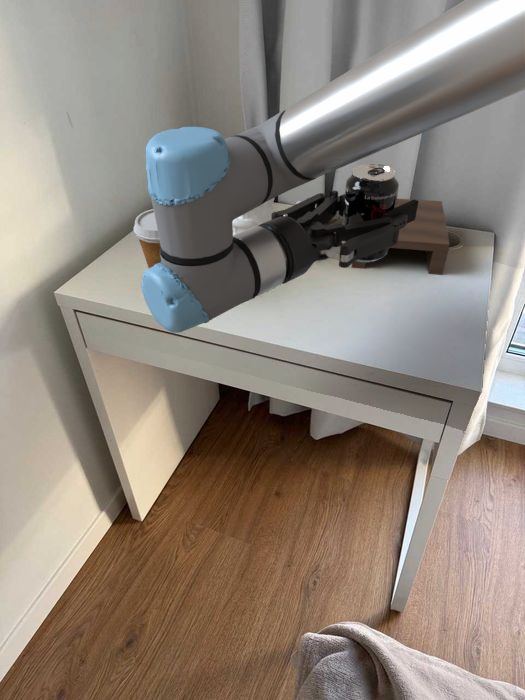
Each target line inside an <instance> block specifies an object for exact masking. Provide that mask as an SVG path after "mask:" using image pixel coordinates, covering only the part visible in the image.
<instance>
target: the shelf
mask: <svg viewBox="0 0 525 700" xmlns="http://www.w3.org/2000/svg"><path fill="white" fill-rule="evenodd" d="M411 200H413V198H412V199H409V198H397V202H396V207H398V206H400V205H403V204H405V203H407V202H409V201H411ZM416 200H417V201H419V202H418V207H417V213H416V218H415V220H414V221H412V222H409V223H407V224H406V226H405V227H403V228H401V229H400V231H399V237H398V243H397V244H396V245H394V246H392V247H389V249H399V250H400V249H401V250H412V251H413V250H415V251H425V254H426V263H427V271H428V272H427V273H428V274H429V275H440V276H442V275H443V274H444V269H445V265H446V261H447V258H448V254H449V249H450V244H451V243H450V238H449V234H448V228H447V222H446V217H445V211H444V206H443V201H442V200H427V199H416ZM350 266H351V268H353V269H354V268H356V269H365V268H366V262H358V261H354V262H353V263H352V264H351V265H350Z"/></svg>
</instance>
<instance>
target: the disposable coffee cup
mask: <svg viewBox="0 0 525 700" xmlns="http://www.w3.org/2000/svg"><path fill="white" fill-rule="evenodd" d="M133 233H134V235H135V236H136V237H137V238H138V240H139V244H140V246H141V249H142V253H143V255H144V258H145V262H146V265H147V267H148V269H149V268H151V267H153V266H154V265H155V264H158V263H161V256H160V239H159V234H158V229H157V224H156V219H155V215H154V210H153V208H151V209H148V210H145V211H143V212H141V213H140V214H138V215H137V216H136V218H135V220H134V225H133Z"/></svg>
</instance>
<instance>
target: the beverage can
mask: <svg viewBox="0 0 525 700" xmlns="http://www.w3.org/2000/svg"><path fill="white" fill-rule="evenodd" d="M396 174H397V171H396V170H395V168H393V167H392V166H389V165H385V164H381V163H380V164H379V163H364V164H363V163H362V164H359V165H356V166H354V167H353V168H352V170H351V176H349V177H348V178H347V179H346V183H345V190H344V194H345V201H344V213H343V216H342V224H341V225H342V226H343V225H348V224H353V223H358V222H364V221H369V220H374V219H379V218H382V216H383V213H385V212H387V211H390V210H392V209H394V208H396V202H397V199H398V194H399V189H400V188H399V187H400V183H399V181H398V179H397V178H396ZM389 250H390V248H386V249H384V250H381V251H379V252H376V253H374V254H371V255H369V256H366V257H364V258H361V259H359V260H356V261H358V262H365V263H373V262H376V261H378V260H380V259H383V258H384V257H385V256H387V254H388V253H389Z"/></svg>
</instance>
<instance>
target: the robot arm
mask: <svg viewBox="0 0 525 700" xmlns="http://www.w3.org/2000/svg"><path fill="white" fill-rule="evenodd" d="M523 91H525V0H463V1H461V2H459V3H458V4H456V5H454V6H453V7H451V8H450V9H448V10H447V11H445V12H443V13H441V14H440V15H438V16H437V17H434V18H433V19H432V20H429V21H428V22H426V23H425V24H423V25H421V26H420V27H418V28H417V29H415V30H413V31H412V32H410V33H408V34H407V35H405V36H403V37H402V38H400V39H399V40H397V41H396V42H393V43H392V44H391V45H389V46H387V47H385V48H384V49H382V50H381V51H379V52H377V53H375V54H374V55H372V56H371V57H369V58H367V59H366V60H364V61H362V62H360V63H359V64H357V65H356V66H354V67H353V68H351V69H349V70H347V71H345V73H343V74H341V75H339V76H338V77H336V78H335V79H333V80H332V81H330V82H327V84H325V85H323V86H322V87H320V88H318V89H317V90H314V91H313V92H311V93H310V94H308V95H307V96H305V97H303V98H302V99H300V100H299V101H297V102H295V103H294V104H292V105H290V106H289V107H286V108H285V109H284V110H282V111H280V112H278V113H276V114H275V115H274V116H271V117H270V118H268V119H266V120H265V121H263V122H262V123H259V124H258V125H256V126H254V127H252V128H249V129H247V130H245V131H242V132H240V133H238V134H236V135H232V136H229V137H227V138H225V137H224V136H223V135H222V134H221V132H219V131H217V130H215V129H213V128H208V127H203V126H182V127H180V128H171V129H166V130H163V131H160V132H159V133H156V134H155V135H153V136H152V137H151V138H150V139H149V141H148V142H147V143H146V147H145V168H146V176H147V191H148V193H149V197H150V199H151V204H152V205H151V206H152V209H153V210H154V215H155V219H156V224H157V229H158V234H159V239H160V256H161V263H158V264H155V265H154V266H153V267H151V268H149V267H148V269H146V270H144V272H143V273H142V277H141V279H142V281H141V291H142V295H143V298H144V301H145V304H146V306H147V308H148V310H149V312H150V314H151V315H152V317H153V319H155V321H156V322H157V324H159V325H160V326H161V327H162V328H163V329H164V330H166V331H168V332H170V333H174V334H178V333H182V332H185V331H187V330H190V329H192V328H195V327H197V326H200V325H203V324H208V323H209V322H210V321H212V320H213V319H215V318H217V317H219V316H221V315H223V314H225V313H226V312H228V311H230V310H232V309H234V308H236V307H238V306H240V305H242V304H244V303H246V302H249V301H250V300H253V299H255V298H256V297H258V296H260V295H263V294H265V293H267V292H269V291H271V290H273V289H276V288H277V287H279V286H281V285H283V284H287V283H288V282H291V281H292V280H295V279H297V278H299V277H302V276H303V275H304V274H306V273H307V272H308V271H309V270H310V268H311V267H312V266H313V265H314V263H315V262H320V261H326V260H328V259H329V258H331V259H334V260H337V261H338V266H339V268H343V269H346V268H349V267H350V266H352V263H353V262H354V261H356V260H359V259H361V258H364V257H366V256H369V255H371V254H374V253H376V252H379V251H381V250H384V249H386V248H389V247H392V246H394V245H396V244H397V243H398V237H399V231H400V229H401V228H403V227H405V226H406V224H407V223H409V222H412V221H414V220H415V218H416V213H417V207H418V202H419V201H417V200H418V199H412V200H411V201H409V202H407V203H405V204H403V205H400V206H398V207H396V208H394V209H392V210H390V211H387V212H385V213H383V216H382V218H379V219H374V220H369V221H364V222H358V223H353V224H348V225H343V224H341V223H340V222H335V223H334V222H333V223H330V224H328V223H329V222H331V221H332V220H331V219H332V218H333V217H334V216H335V215H336V214H337V211H339V216H341V217H343V213H344V201H345V193H343V194H341V195H339V191H338V190H329V197H326V194H325V193H322V192H320V193H317V194H315V195H312V196H310V197H308V198H306V199H303V200H301V201H302V202H300V203H298V204H296V203H295V204H294V205H291V206H290V207H287V208H286V209H281V210H277V211H275V212H273V213H272V214H271V219H272V220H270V221H268V222H265V223H263V224H260V225H259V226H255V227H251V228H249V229H246V230H244V231H242V232H239V233H237V234H235V235H233V228H232V221H233V220H234V219H236V218H238V217H240V216H242V215H243V214H245V213H247V212H249V211H251V210H253V209H254V208H256V207H258V206H260V205H262V204H263V203H265V202H267V201H269V200H271V199H273V198H274V199H275V198H277V197H278V196H280V195H283V194H285V193H287V192H289V191H291V190H293V189H296V188H298V187H300V186H302V185H305V184H307V183H310V182H312V181H314V180H316V179H317V178H320V177H322V176H324V175H327V174H330V173H332V172H334V171H336V170H338V169H341V168H343V167H346V166H348V165H351V164H353V163H355V162H357V161H358V162H359V160H362V159H364V158H365V159H366V158H367V157H369V156H371V155H374V154H376V153H379V152H381V151H383V150H386V149H388V148H390V147H393V146H395V145H397V144H400V143H403V142H405V141H407V140H410V139H411V138H414V137H416V136H419V135H421V134H424V133H426V132H428V131H431V130H433V129H435V128H438V127H440V126H442V125H445V124H448V123H450V122H452V121H454V120H457V119H458V118H459V119H460V118H461V117H464V116H466V115H468V114H470V113H473V112H475V111H478V110H481V109H483V108H485V107H487V106H490V105H492V104H494V103H497V102H499V101H501V100H504V99H506V98H509V97H511V96H513V95H515V94H516V95H517V93H520V92H523ZM315 206H316V208H315ZM342 225H343V226H342ZM389 249H390V248H389Z"/></svg>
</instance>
